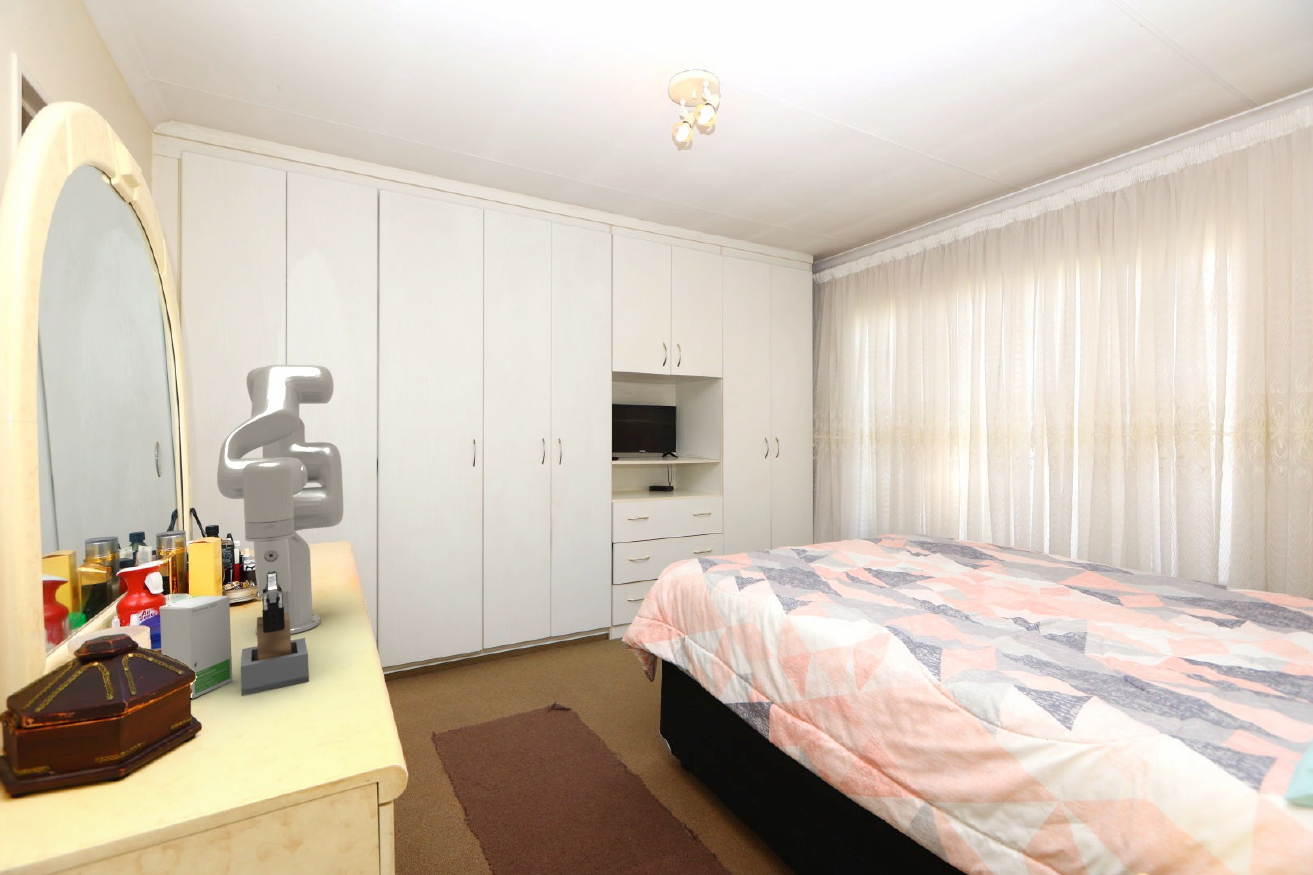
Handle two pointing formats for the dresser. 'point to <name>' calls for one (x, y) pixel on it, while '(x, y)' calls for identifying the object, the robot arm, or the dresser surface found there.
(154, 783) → the dresser surface
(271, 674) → the grey well
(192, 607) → the skincare box
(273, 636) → the oak block
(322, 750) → the dresser surface
